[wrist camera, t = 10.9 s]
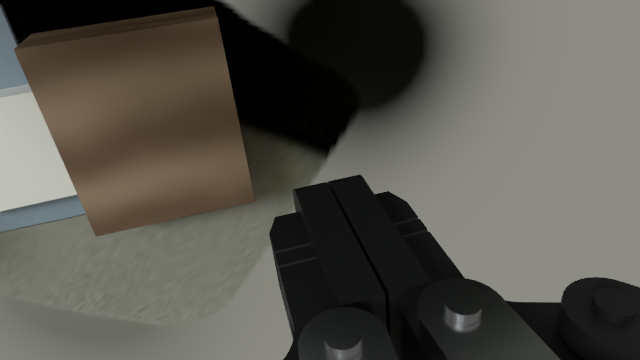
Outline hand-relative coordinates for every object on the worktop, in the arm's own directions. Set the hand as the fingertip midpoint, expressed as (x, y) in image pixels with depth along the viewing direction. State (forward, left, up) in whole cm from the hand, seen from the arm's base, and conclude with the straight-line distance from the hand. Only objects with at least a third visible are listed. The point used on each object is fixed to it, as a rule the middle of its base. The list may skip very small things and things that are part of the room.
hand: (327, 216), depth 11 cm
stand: (+7, -7, -27) cm, 29 cm away
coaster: (+7, -17, -27) cm, 33 cm away
